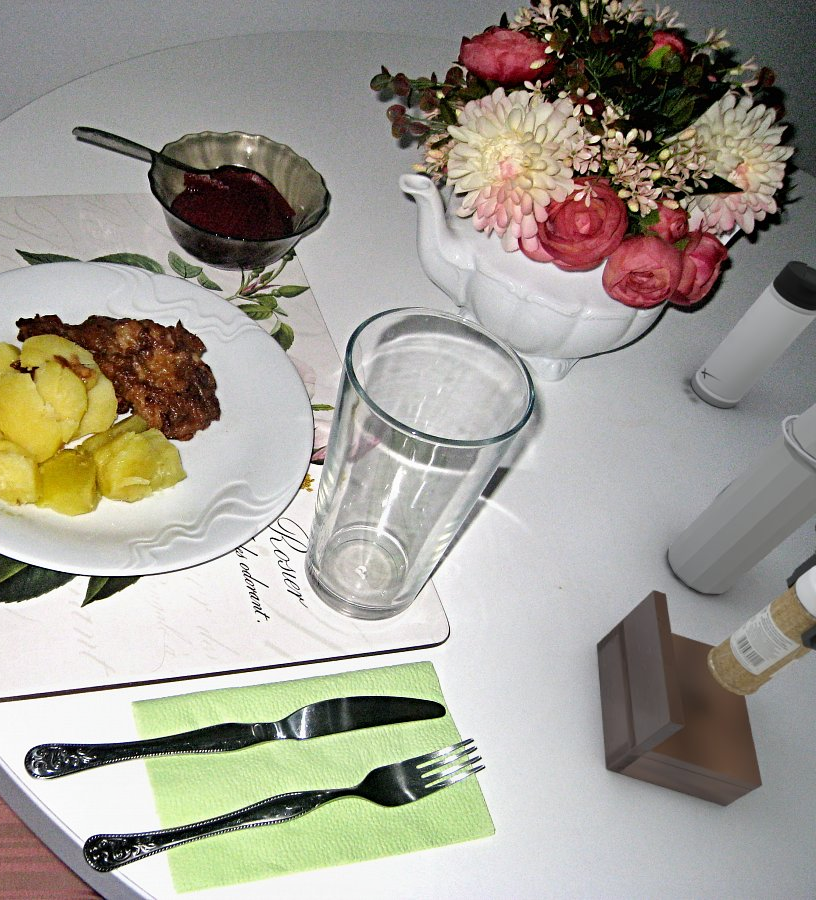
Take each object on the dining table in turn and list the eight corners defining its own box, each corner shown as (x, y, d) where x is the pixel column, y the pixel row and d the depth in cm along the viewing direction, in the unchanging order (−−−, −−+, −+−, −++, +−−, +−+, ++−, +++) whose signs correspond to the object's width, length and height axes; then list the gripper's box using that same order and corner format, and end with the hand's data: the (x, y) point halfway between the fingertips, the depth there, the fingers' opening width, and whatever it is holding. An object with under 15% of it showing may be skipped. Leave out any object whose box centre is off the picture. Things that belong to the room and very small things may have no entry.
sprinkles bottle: (765, 698, 75) (885, 616, 65) (717, 696, 74) (830, 613, 64) (742, 648, 78) (853, 563, 68) (695, 645, 77) (801, 559, 67)
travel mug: (684, 392, 117) (786, 271, 102) (696, 367, 121) (795, 247, 106) (730, 417, 115) (840, 298, 100) (740, 391, 119) (847, 273, 104)
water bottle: (738, 607, 94) (922, 454, 76) (667, 588, 94) (834, 430, 75) (719, 538, 100) (886, 381, 82) (653, 520, 100) (804, 359, 82)
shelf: (704, 676, 87) (771, 625, 80) (726, 806, 79) (803, 762, 71) (596, 643, 87) (653, 589, 80) (606, 769, 79) (670, 721, 71)
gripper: (1096, 588, 51) (877, 715, 64) (1004, 418, 61) (829, 557, 74) (970, 550, 51) (776, 684, 64) (898, 386, 61) (741, 531, 74)
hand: (805, 616), depth 69 cm, fingers closed on sprinkles bottle, 4 cm apart
